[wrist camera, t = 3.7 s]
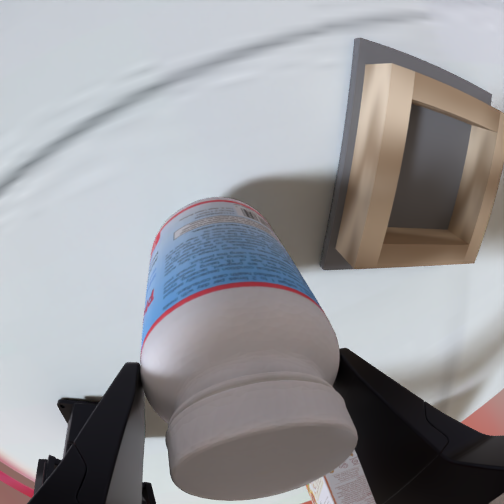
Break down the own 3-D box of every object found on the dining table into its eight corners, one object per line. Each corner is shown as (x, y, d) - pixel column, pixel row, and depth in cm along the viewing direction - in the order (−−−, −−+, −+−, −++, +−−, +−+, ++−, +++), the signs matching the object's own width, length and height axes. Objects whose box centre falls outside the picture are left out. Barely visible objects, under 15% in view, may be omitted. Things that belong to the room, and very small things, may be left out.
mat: (447, 260, 23) (451, 264, 22) (319, 265, 20) (323, 270, 20) (486, 93, 17) (491, 94, 16) (354, 38, 14) (359, 37, 13)
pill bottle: (130, 228, 14) (76, 452, 5) (248, 173, 14) (381, 348, 5) (187, 318, 18) (210, 518, 8) (288, 274, 18) (388, 457, 8)
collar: (453, 247, 22) (474, 263, 19) (335, 248, 19) (353, 269, 17) (485, 111, 17) (511, 117, 15) (365, 64, 14) (391, 63, 12)
